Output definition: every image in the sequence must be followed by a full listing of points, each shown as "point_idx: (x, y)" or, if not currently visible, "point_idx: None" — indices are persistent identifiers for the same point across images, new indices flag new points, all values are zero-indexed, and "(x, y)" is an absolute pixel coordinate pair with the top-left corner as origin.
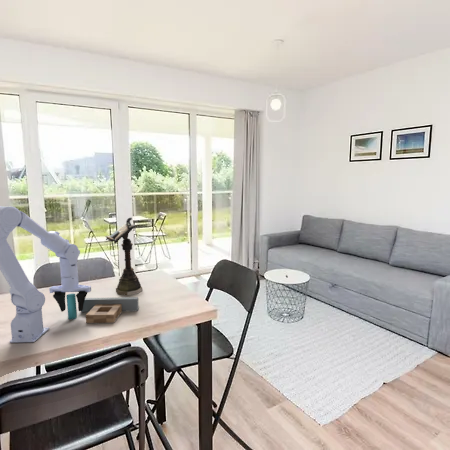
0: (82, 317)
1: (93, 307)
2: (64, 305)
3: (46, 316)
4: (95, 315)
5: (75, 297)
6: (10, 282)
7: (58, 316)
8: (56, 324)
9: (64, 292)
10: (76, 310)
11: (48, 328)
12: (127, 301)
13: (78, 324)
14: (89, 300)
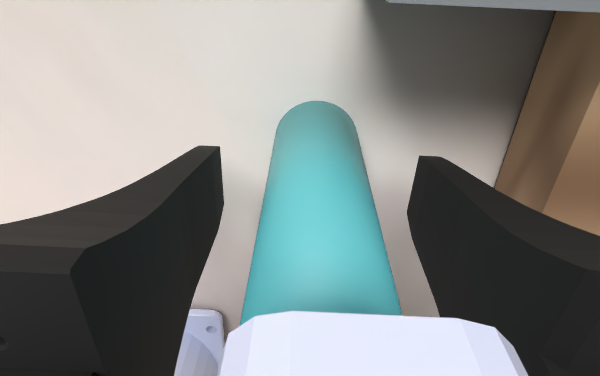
0: (414, 139)
1: (584, 134)
2: (205, 189)
3: (12, 80)
4: None
5: (397, 299)
6: None
7: (147, 92)
8: (231, 249)
9: (113, 299)
10: (365, 168)
11: (221, 325)
12: None
13: (410, 263)
14: (566, 8)
